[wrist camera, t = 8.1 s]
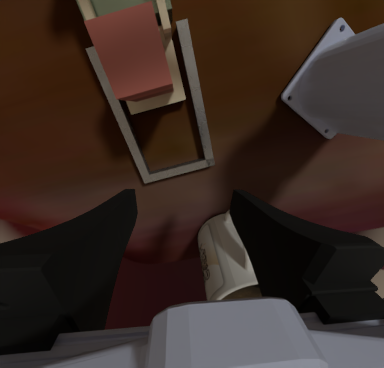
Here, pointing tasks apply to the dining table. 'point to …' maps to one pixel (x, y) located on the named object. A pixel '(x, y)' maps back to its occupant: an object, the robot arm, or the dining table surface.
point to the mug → (225, 261)
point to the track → (104, 4)
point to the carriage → (137, 55)
